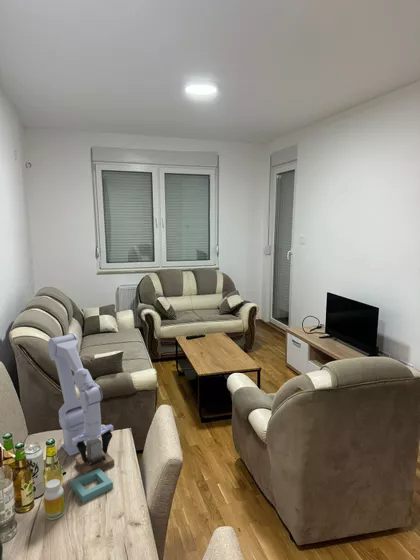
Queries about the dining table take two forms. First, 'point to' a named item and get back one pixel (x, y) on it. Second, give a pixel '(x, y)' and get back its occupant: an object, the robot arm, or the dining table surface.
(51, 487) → the supplement bottle
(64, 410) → the robot arm
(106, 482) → the teal square frame
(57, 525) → the dining table surface
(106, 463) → the socket block
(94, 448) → the peg
